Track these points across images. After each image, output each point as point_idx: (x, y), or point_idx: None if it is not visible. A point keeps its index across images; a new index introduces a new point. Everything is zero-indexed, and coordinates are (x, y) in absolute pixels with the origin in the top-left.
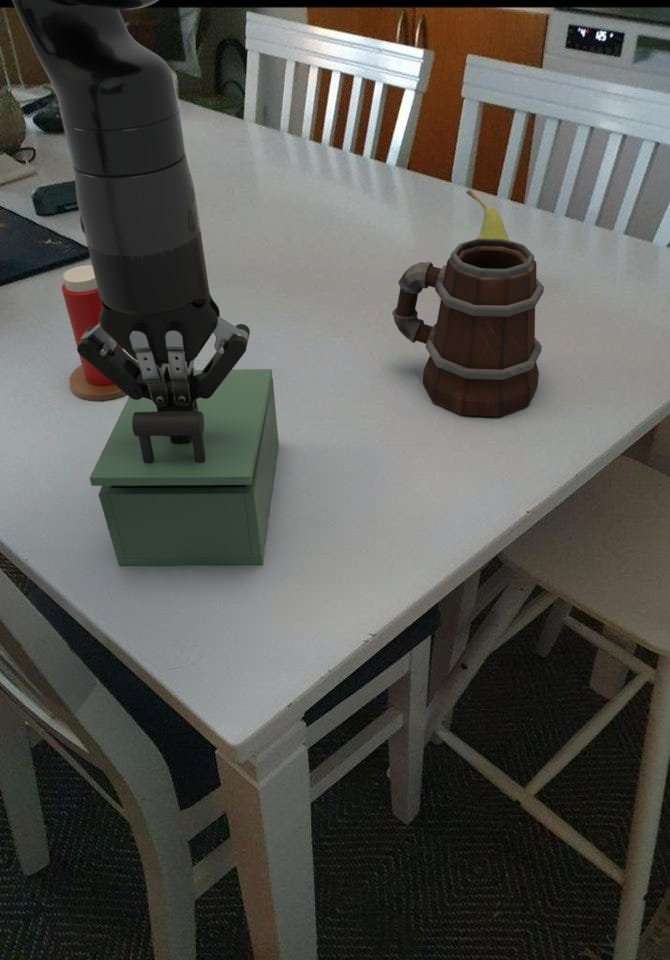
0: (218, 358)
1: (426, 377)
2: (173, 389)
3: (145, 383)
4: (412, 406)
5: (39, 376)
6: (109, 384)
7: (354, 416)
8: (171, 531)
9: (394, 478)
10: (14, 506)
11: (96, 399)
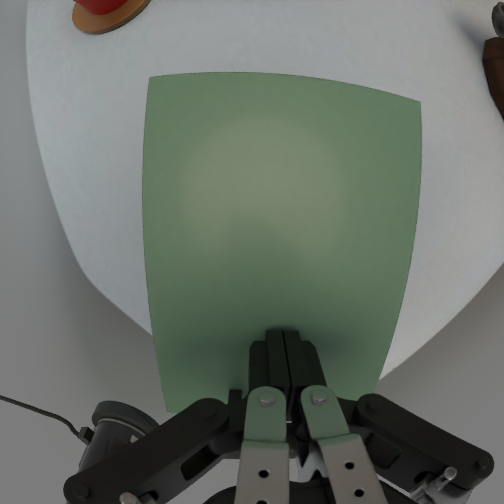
0: (405, 485)
1: (494, 69)
2: (295, 454)
3: (232, 449)
4: (477, 90)
5: (49, 15)
6: (114, 9)
7: (433, 86)
8: None
9: (458, 204)
10: (67, 227)
11: (102, 32)
